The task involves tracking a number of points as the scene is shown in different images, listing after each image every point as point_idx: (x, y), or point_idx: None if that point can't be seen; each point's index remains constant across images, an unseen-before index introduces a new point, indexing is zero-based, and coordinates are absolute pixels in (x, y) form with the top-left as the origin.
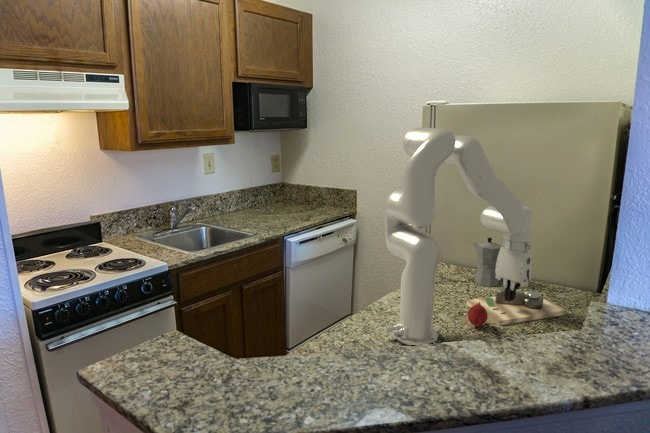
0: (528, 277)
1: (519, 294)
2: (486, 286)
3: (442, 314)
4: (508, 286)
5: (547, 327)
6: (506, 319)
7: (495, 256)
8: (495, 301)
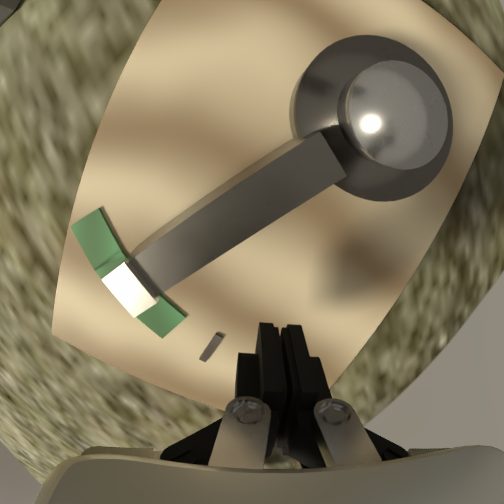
0: (499, 464)
1: (300, 203)
2: (3, 22)
3: (98, 436)
4: (267, 453)
5: (460, 291)
6: None
7: None
8: (138, 237)
